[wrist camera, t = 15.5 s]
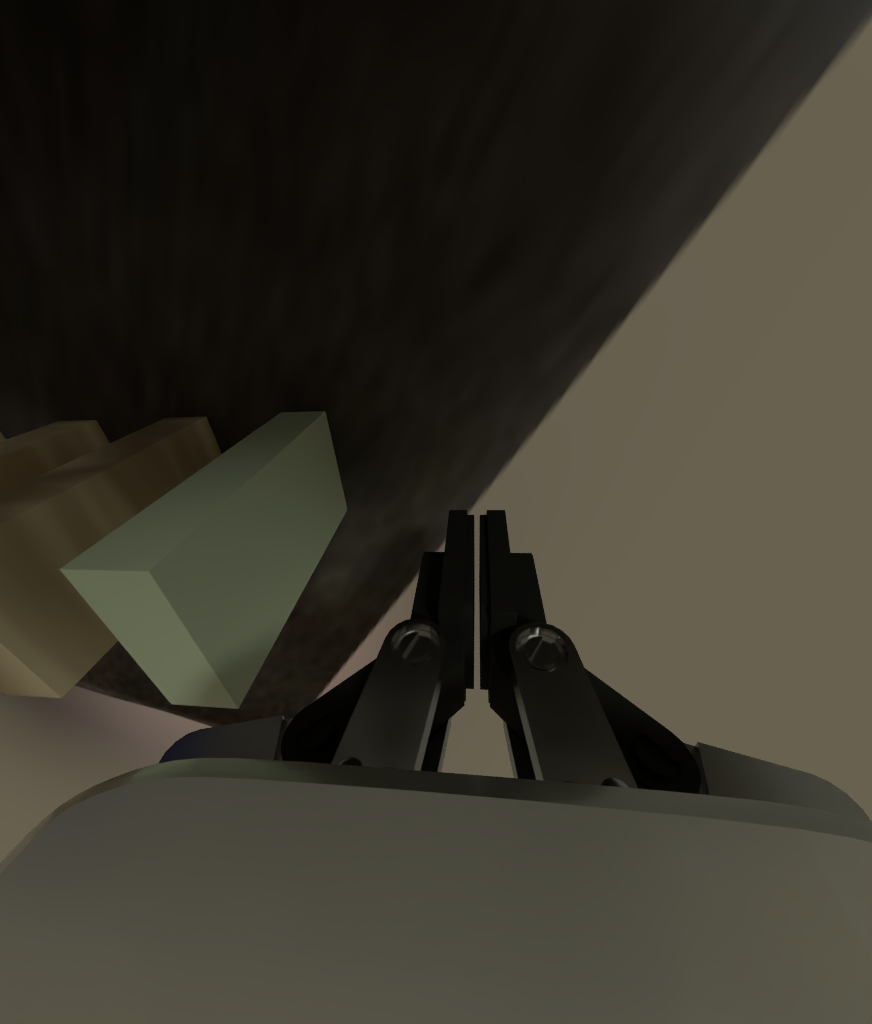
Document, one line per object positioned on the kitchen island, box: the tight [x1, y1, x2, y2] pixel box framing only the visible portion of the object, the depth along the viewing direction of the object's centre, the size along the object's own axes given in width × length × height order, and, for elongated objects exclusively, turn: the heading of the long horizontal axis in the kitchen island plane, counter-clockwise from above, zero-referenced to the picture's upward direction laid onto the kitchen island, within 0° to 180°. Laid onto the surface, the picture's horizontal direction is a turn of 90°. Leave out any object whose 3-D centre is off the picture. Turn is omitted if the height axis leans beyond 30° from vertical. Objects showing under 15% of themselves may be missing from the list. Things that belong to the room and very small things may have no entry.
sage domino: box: [60, 411, 347, 709], centre depth 13 cm, size 2×5×10 cm, turn 3°
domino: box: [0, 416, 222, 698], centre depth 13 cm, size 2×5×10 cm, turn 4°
